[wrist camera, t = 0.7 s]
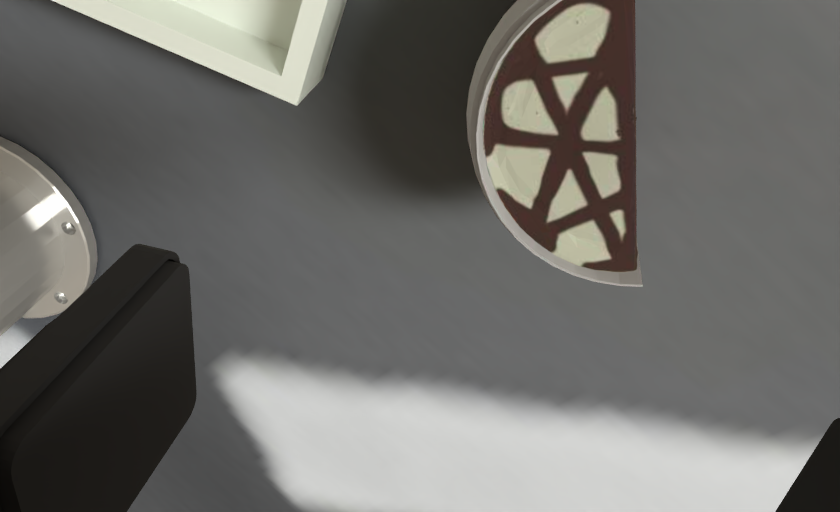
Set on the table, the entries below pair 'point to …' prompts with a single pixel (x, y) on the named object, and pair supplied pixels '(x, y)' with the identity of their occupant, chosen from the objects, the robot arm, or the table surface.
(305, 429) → the table surface
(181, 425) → the robot arm
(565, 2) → the food container
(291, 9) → the tray
